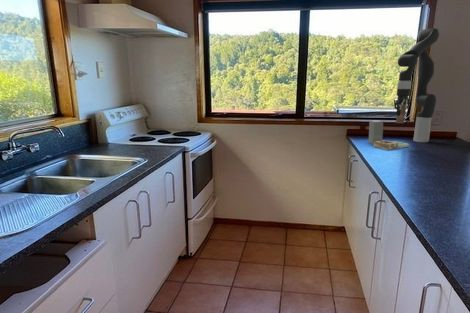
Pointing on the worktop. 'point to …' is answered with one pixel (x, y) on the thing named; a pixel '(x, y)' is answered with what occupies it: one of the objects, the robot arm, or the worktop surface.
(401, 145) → the tray
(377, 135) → the skincare box
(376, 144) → the pocket block
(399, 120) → the dowel
